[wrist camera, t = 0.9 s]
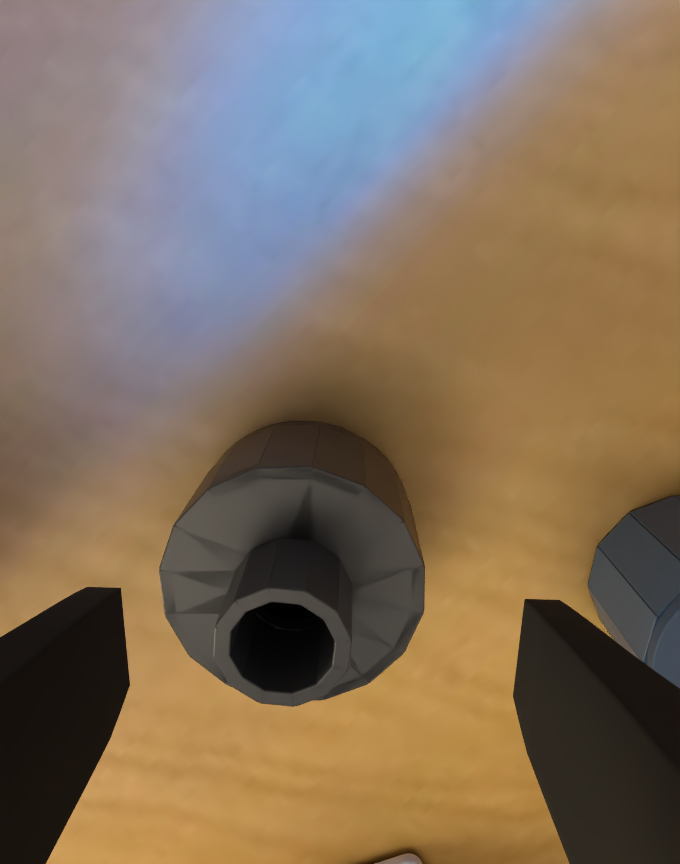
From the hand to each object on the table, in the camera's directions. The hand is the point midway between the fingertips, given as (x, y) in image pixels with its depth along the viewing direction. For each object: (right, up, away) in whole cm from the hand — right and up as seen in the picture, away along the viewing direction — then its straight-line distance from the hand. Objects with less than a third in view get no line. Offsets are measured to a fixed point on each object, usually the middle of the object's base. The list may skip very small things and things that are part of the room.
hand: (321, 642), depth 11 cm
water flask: (-1, +1, +10) cm, 10 cm away
